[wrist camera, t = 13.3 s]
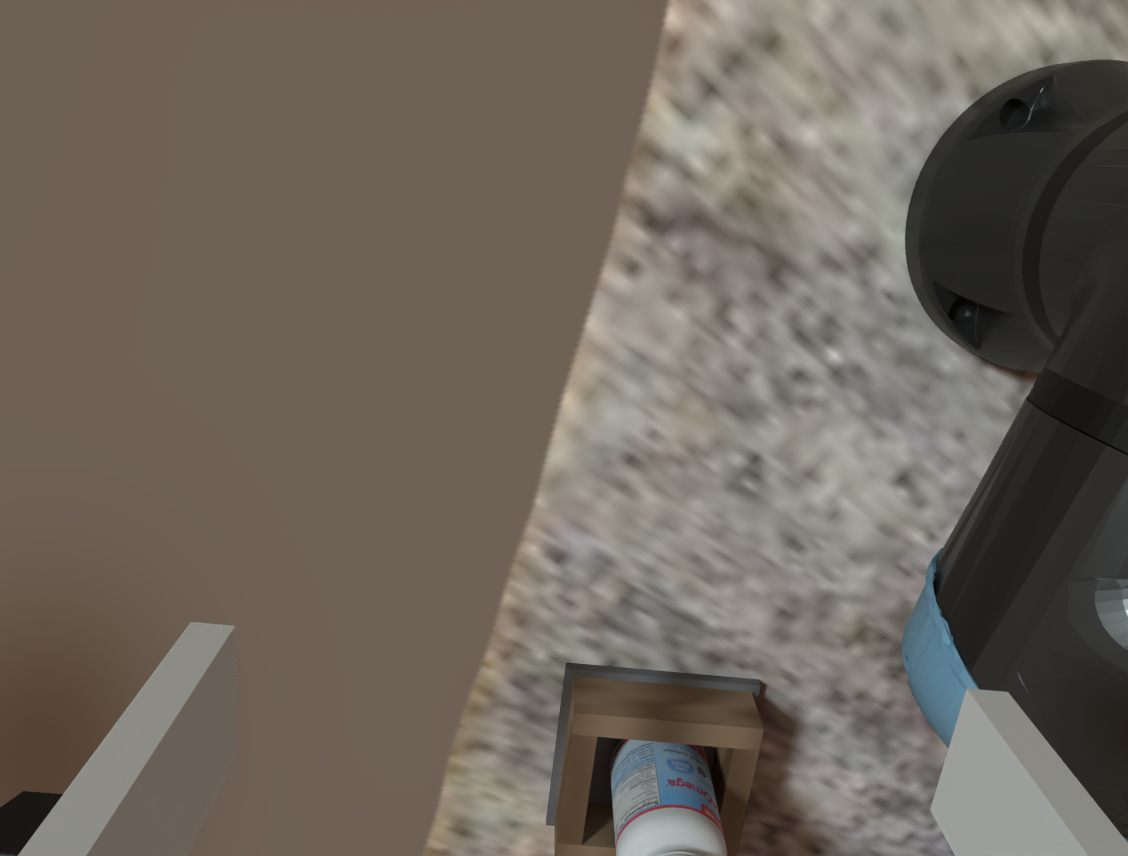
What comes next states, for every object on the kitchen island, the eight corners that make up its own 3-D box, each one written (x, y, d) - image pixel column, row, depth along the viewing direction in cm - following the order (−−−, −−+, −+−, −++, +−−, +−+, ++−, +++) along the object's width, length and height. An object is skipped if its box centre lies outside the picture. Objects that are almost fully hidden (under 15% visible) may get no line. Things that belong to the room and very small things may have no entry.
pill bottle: (724, 762, 55) (763, 913, 45) (648, 812, 56) (669, 971, 46) (665, 700, 54) (691, 842, 43) (589, 753, 55) (596, 903, 44)
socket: (758, 679, 54) (774, 722, 50) (726, 832, 58) (738, 883, 54) (566, 662, 53) (566, 704, 50) (546, 818, 57) (545, 868, 53)
